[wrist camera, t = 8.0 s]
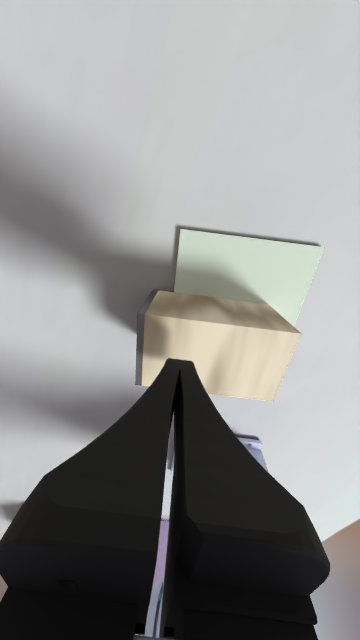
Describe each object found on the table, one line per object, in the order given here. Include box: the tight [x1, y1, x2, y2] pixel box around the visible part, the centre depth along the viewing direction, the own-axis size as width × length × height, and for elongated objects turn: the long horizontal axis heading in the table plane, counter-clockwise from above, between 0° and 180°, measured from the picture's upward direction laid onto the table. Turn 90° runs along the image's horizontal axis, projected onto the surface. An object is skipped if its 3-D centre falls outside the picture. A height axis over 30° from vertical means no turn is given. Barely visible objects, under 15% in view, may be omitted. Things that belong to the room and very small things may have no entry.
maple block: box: [135, 290, 301, 402], centre depth 14 cm, size 5×5×9 cm
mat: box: [174, 229, 325, 327], centre depth 16 cm, size 10×14×1 cm
